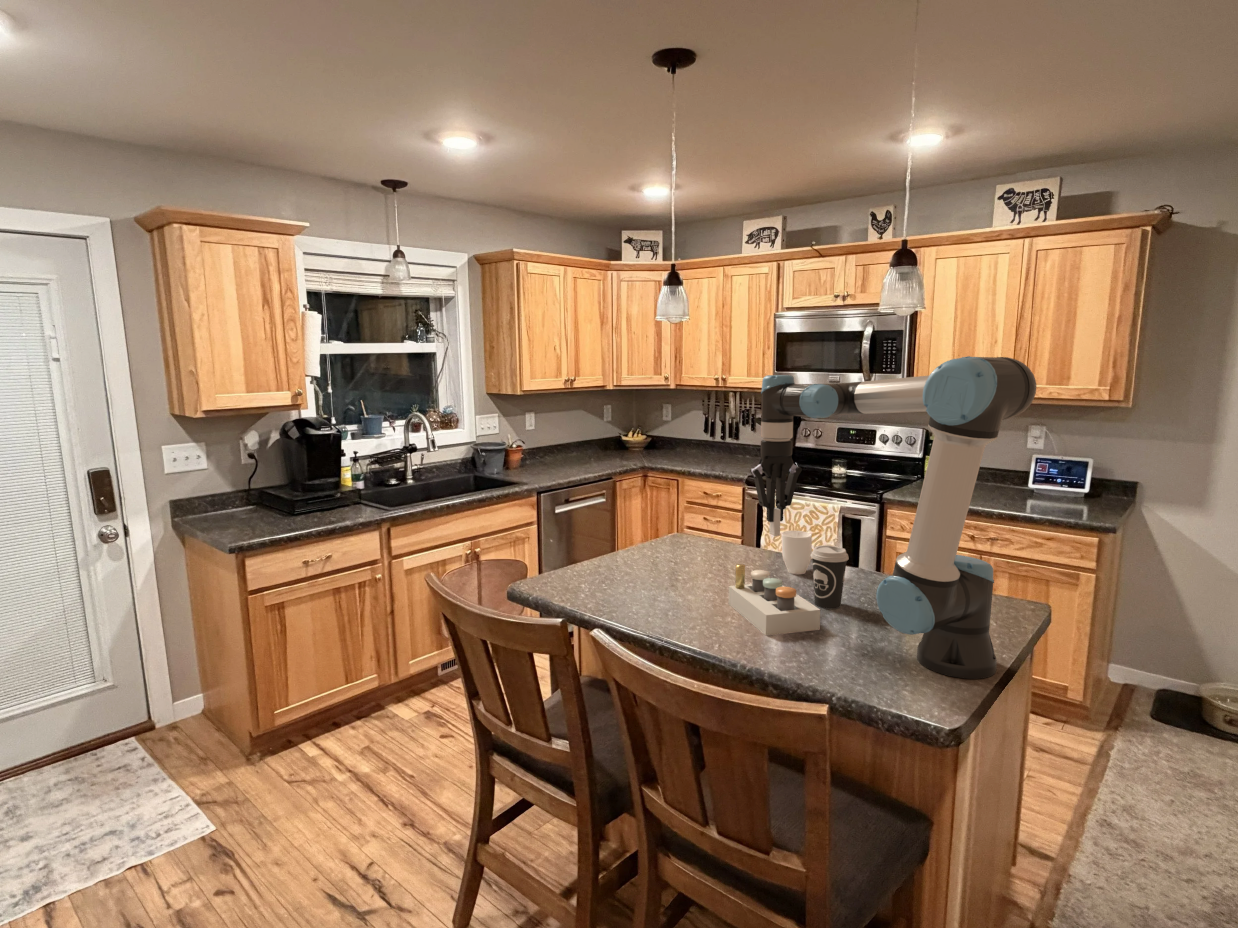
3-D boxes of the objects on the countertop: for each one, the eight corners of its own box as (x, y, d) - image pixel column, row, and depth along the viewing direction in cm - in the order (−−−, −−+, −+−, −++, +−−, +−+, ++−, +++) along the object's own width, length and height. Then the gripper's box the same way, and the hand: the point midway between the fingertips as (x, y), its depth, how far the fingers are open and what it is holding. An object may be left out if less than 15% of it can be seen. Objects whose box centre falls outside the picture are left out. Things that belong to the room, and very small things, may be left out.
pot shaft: (746, 588, 180) (746, 566, 179) (737, 589, 179) (738, 566, 178) (742, 585, 182) (742, 563, 181) (733, 586, 181) (734, 564, 181)
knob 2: (784, 618, 172) (786, 583, 171) (767, 620, 171) (768, 584, 170) (776, 612, 177) (777, 577, 175) (758, 613, 175) (759, 578, 174)
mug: (803, 578, 204) (803, 538, 202) (776, 573, 210) (776, 534, 208) (820, 568, 213) (820, 530, 211) (793, 564, 219) (793, 527, 217)
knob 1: (772, 609, 179) (773, 574, 177) (755, 610, 178) (755, 576, 176) (763, 602, 183) (764, 569, 182) (747, 604, 182) (747, 570, 181)
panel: (819, 629, 165) (820, 609, 164) (765, 635, 162) (766, 615, 161) (777, 599, 186) (777, 581, 185) (728, 604, 183) (728, 585, 182)
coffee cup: (848, 612, 176) (851, 555, 174) (809, 609, 178) (811, 553, 176) (844, 599, 186) (846, 545, 183) (807, 597, 187) (809, 543, 185)
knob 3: (798, 629, 165) (800, 592, 164) (780, 631, 164) (781, 593, 163) (789, 621, 170) (790, 585, 169) (771, 623, 169) (772, 587, 167)
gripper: (793, 436, 172) (791, 529, 176) (745, 438, 169) (743, 532, 173) (808, 439, 165) (806, 536, 168) (758, 441, 162) (756, 539, 165)
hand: (774, 534), depth 170 cm, fingers closed
